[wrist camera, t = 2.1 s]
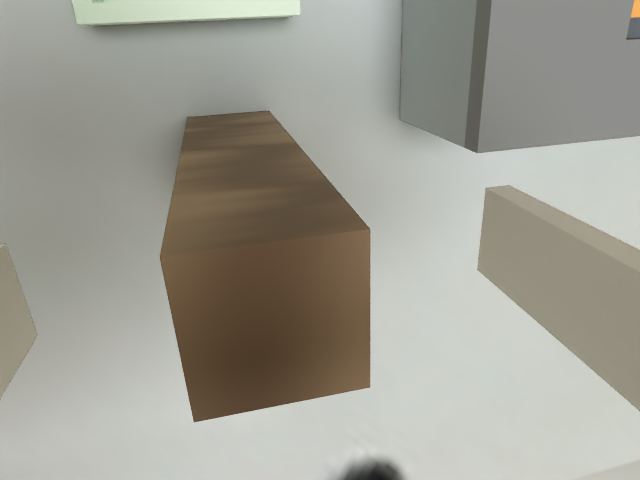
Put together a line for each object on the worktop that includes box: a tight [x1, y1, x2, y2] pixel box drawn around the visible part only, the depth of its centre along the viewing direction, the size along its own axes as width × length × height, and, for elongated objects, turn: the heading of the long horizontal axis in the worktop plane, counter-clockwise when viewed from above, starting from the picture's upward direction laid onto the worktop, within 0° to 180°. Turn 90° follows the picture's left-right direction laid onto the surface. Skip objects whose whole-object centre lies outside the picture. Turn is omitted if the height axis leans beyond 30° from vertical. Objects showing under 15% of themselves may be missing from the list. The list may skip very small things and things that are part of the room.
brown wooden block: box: [160, 111, 370, 422], centre depth 17 cm, size 4×4×16 cm
